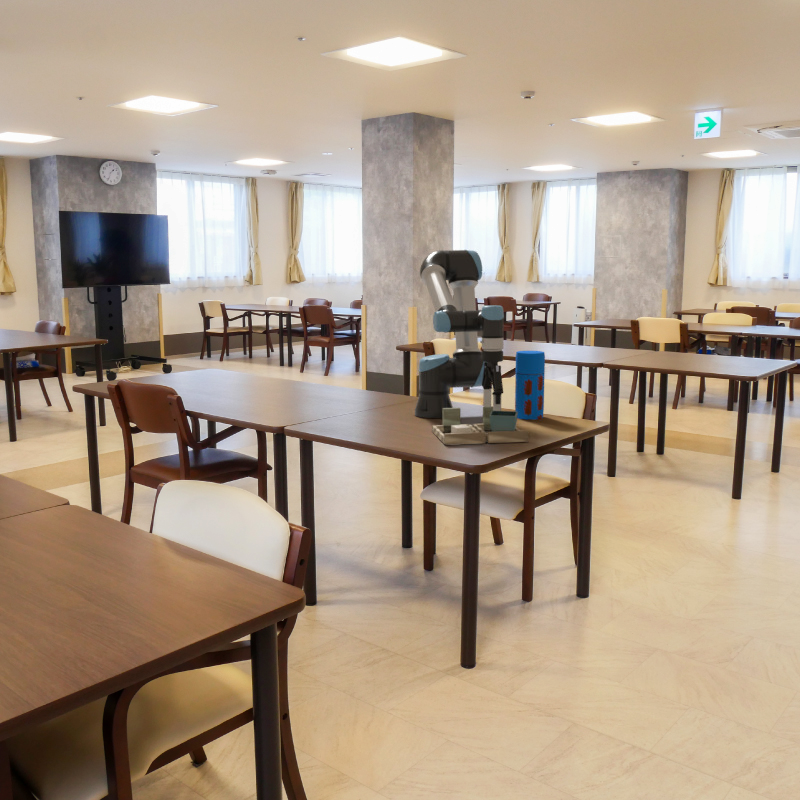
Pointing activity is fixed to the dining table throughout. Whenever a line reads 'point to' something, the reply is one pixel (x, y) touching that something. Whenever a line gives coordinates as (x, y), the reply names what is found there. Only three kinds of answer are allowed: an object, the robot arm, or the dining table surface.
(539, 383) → the thermos
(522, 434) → the oak sled
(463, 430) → the cream cube
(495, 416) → the flower pot
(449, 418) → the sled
